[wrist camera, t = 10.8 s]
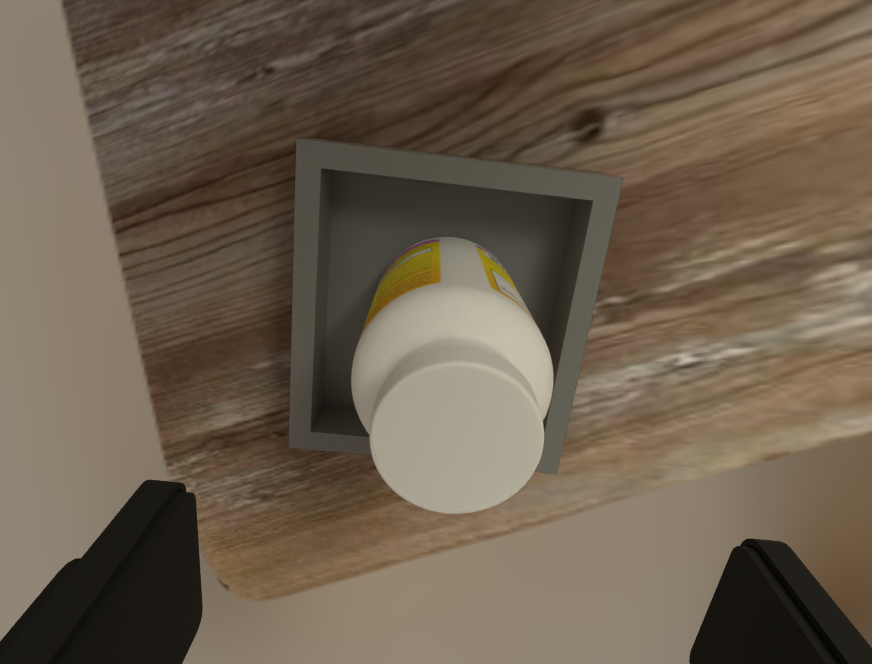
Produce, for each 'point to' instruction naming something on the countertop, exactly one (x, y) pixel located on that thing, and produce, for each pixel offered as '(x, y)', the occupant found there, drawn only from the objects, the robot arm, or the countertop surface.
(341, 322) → the charcoal tray
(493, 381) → the supplement bottle
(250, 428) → the countertop surface
